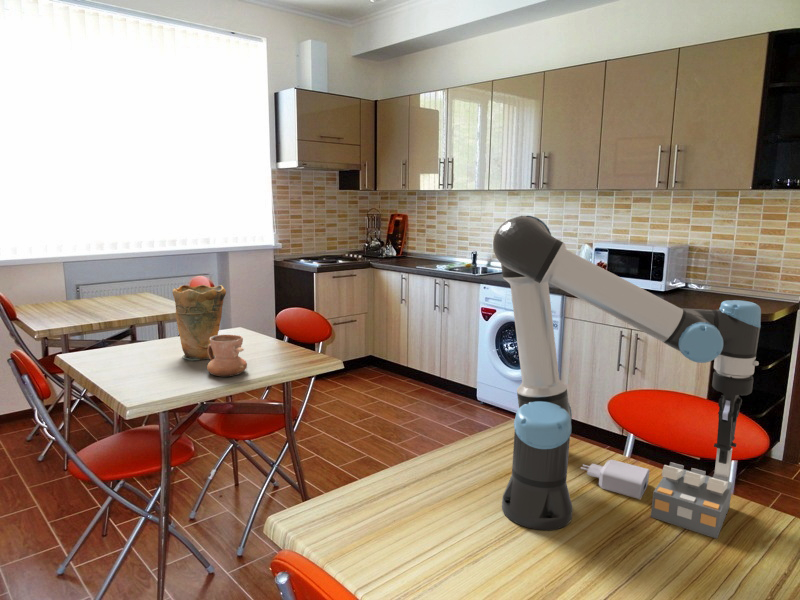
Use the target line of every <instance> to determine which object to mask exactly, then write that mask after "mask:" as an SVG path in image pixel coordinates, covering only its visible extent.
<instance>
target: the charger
mask: <svg viewBox="0 0 800 600" xmlns="http://www.w3.org/2000/svg"><path fill="white" fill-rule="evenodd" d="M580 469H581V470H585V471H586V475H587V476H590V477H594V478H597V479H598V486H599V487H600V488H601V489H602V490H606V491H609V492H613V493H616V494H620V495H624V496H626V497H630V498H632V499H633V498H634V499H637V500H641V499H642V498H643V496H644V493H645V491H646V490H647V488H648V485H649V479H650V478H649V477H650V468H645V467H641V466H638V465H635V464H630V463H626V462H623V461H619V460H615V459H610V460H609V459H608V460H607V461H606V462H605V464H604V465H600V464H597V463H596V464H595V463H594V462H593V463H591V464H590V465H586V464H585V463H584V464H582V466H580Z"/></svg>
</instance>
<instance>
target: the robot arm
mask: <svg viewBox="0 0 800 600" xmlns="http://www.w3.org/2000/svg"><path fill="white" fill-rule="evenodd" d="M492 241H493V242H492V247H493V248H492V249H493V253H494V256H495V257H496V259H497V261H498V262H499V263H500V266H501V274H502V279H504V281H506V282H507V283H508V284H509V286H510V292H511V293H510V294H511V301H512V307H513V308H512V309H513V310H512V311H513V316H514V326H515V333H516V340H517V341H516V343H517V349H518V351H517V352H518V357H519V367H520V374H521V383H520V385H519V386H518V387H517V388H516V394H517V395H516V396H517V402H518V409H517V410H516V413H515V418H514V421H513V428H514V433H513V434H514V438H513V448H512V449H513V451H512V463H511V464H512V466H511V476H510V479H508V483H507V485H506V488H505V490H504V492H503V495H502V499H501V500H502V501H501V510H502V513H503V514H504V515H505V516H506V517H507V518H508V519H509V520H510V521H512V522H513V523H515V524H518V525H520V526H522V527H525V528H528V529H533V530H540V531H552V530H553V531H554V530H558V529H563V528H564V527H566V526H568V525H569V524H570V523H571V522H572V519H573V511H574V510H573V509H574V508H573V503H572V500H571V496H570V492H569V491H570V490H569V487H568V484H567V477H568V466H569V465H568V464H569V454H570V453H569V451H570V440H571V434H572V417H573V416H572V415H573V414H572V409H571V408H572V407H571V406H570V402H569V393H568V387H567V384H565V382H564V381H562V380H560V375H559V364H558V357H557V356H558V355H557V348H556V347H557V346H556V341H555V340H556V337H555V331H554V323H553V314H552V305H551V303H552V302H551V295H550V287H549V284H551V286H552V285H553V286H554V287H557V288H558V289H560V290H562V291H564V292H566V293H568V294H570V295H572V296H574V297H576V298H577V299H579V300H581V301H583V302H585V303H587V304H588V305H590V306H592V307H595V308H597V309H598V310H600V311H602V312H605V313H606V314H608V315H610V316H612V317H614V318H616V319H618V320H620V321H622V322H623V323H626V324H627V325H630V326H632V327H633V328H635V329H636V330H638V331H641V332H643V333H645V334H647V335H649V336H650V337H652V338H654V339H656V340H659V341H660V342H661V343H663V344H665V345H667V346H669V347H671V348H673V349H674V350H677V351H678V352H680V353H681V354H682V355H683V357H685V358H687V359H688V360H689V361H691V362H694V363H698V364H703V363H704V364H705V363H709V362H711V361H714V362H713V369H714V371H713V374H712V382H711V383H712V384H711V387H712V388H713V389H714V390H715V391H717V392H720V393H722V394H721V395H720V398H719V399H718V413H717V414H718V423H717V424H718V425H717V436H716V437H717V439H716V443H714V444H713V447H714V448H716V458H715V464H714V465H715V467H714V473H713V474H717V475H721V476H724V477H728V478H729V477H730V470H731V463H732V454H733V448H737V443H736V442H734V441H735V439H736V437H735V435H736V427H737V420H738V417H739V416H740V415H739V414H740V408H741V406H742V402H743V399H742V398H741V397H742V396H748V395H750V394H752V392H753V386H754V385H753V384H754V377H753V375H754V373H755V367H757V366H759V364H760V363H759V361H757V360H756V358H757V350H758V343H759V337H760V331H761V327H762V325H761V320H762V318H761V317H762V309H761V306H760V305H758V304H757V303H754V302H752V301H747V300H738V299H735V300H734V299H733V300H728V299H727V300H724V301H722V302H721V303H720V307H719V309H704V308H703V309H700V308H684V307H679V306H676V305H675V304H673V303H671V302H669V301H667V300H665V299H663V298H662V297H659V296H657V295H655V294H654V293H652V292H650V291H647V290H646V289H644V288H642V287H640V286H637V284H634V283H632V282H630V281H629V280H626V279H624V278H622V277H620V276H618V275H617V274H615V273H613V272H610V271H608V270H607V269H605V268H603V267H602V266H599V265H597V264H595V263H593V262H591V261H590V260H588V259H586V258H584V257H582V256H579V255H578V254H577V253H573V252H571V251H570V250H568V249H567V246H566V243H565V242H563V241H561V240H560V239H557V238H556V237H554V236H552V233H551V231H550V228H549V227H548V226H547V224H546V223H545V222H544V221H543V220H541V219H540V218H538V217H536V216H532V215H520V216H516V217H513V218H509V219H508V220H506V221H504V222H503V223H502V224H501V225H500V226H499V227H498V228H497V230H496V231H495V234H494V236H493V240H492ZM740 396H741V397H740Z"/></svg>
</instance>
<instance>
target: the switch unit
mask: <svg viewBox="0 0 800 600" xmlns="http://www.w3.org/2000/svg"><path fill="white" fill-rule="evenodd" d="M686 471H689V472H691V470H688V469H684V472H683V476H682V477H681V478H679V479H677V480H674V479H670V478H667V477H663V476H662V478H661V480H660V482H659V483H658V484H657V486H656V487H655V489H654V490H653V493H652V501H651V502H652V503H651V511H650V518H653V519H656V520H659V521H662V522H665V523H668V524H671V525H673V526H677V527H680V528H683V529H686V530H688V531H693V532H695V533H698V534H701V535H705V536H708V537H711V538H714V539H718V538H719V535H720V533H721V531H722V527H723V525H724V523H725V520H726V518H727V515H726V514H728V511H729V509H730V506H731V498H732V492H733V482H732V481H728V487H727V489H726V490H725V491H724V493H723V494H722V493H718V492H715V491H711V490H708V489H707V483H708V481H709V478H713V476H709V475H706V476H705V482H704V483H703V484H702V485H700V486H699V487H698V486H695V485H691V484H688V483H684V477H685V474H686ZM723 522H724V523H723Z"/></svg>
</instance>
